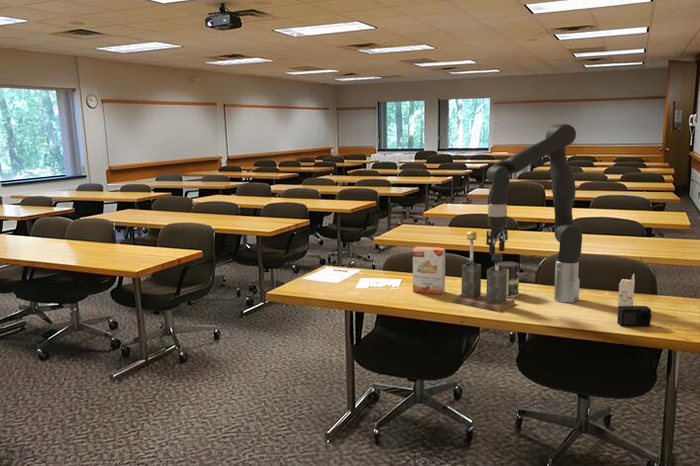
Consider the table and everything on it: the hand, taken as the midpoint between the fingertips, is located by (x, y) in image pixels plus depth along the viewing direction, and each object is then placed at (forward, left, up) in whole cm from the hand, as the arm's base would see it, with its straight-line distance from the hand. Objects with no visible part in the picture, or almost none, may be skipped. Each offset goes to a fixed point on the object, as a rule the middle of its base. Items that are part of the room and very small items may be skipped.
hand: (497, 252), depth 236 cm
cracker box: (+34, 0, -23) cm, 41 cm away
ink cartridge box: (-44, -26, -23) cm, 56 cm away
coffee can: (+4, -18, -23) cm, 30 cm away
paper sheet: (+59, +8, -24) cm, 64 cm away
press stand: (+6, 0, -23) cm, 24 cm away
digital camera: (-52, -9, -23) cm, 58 cm away
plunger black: (0, 0, -19) cm, 19 cm away
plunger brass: (+12, 0, -11) cm, 16 cm away
